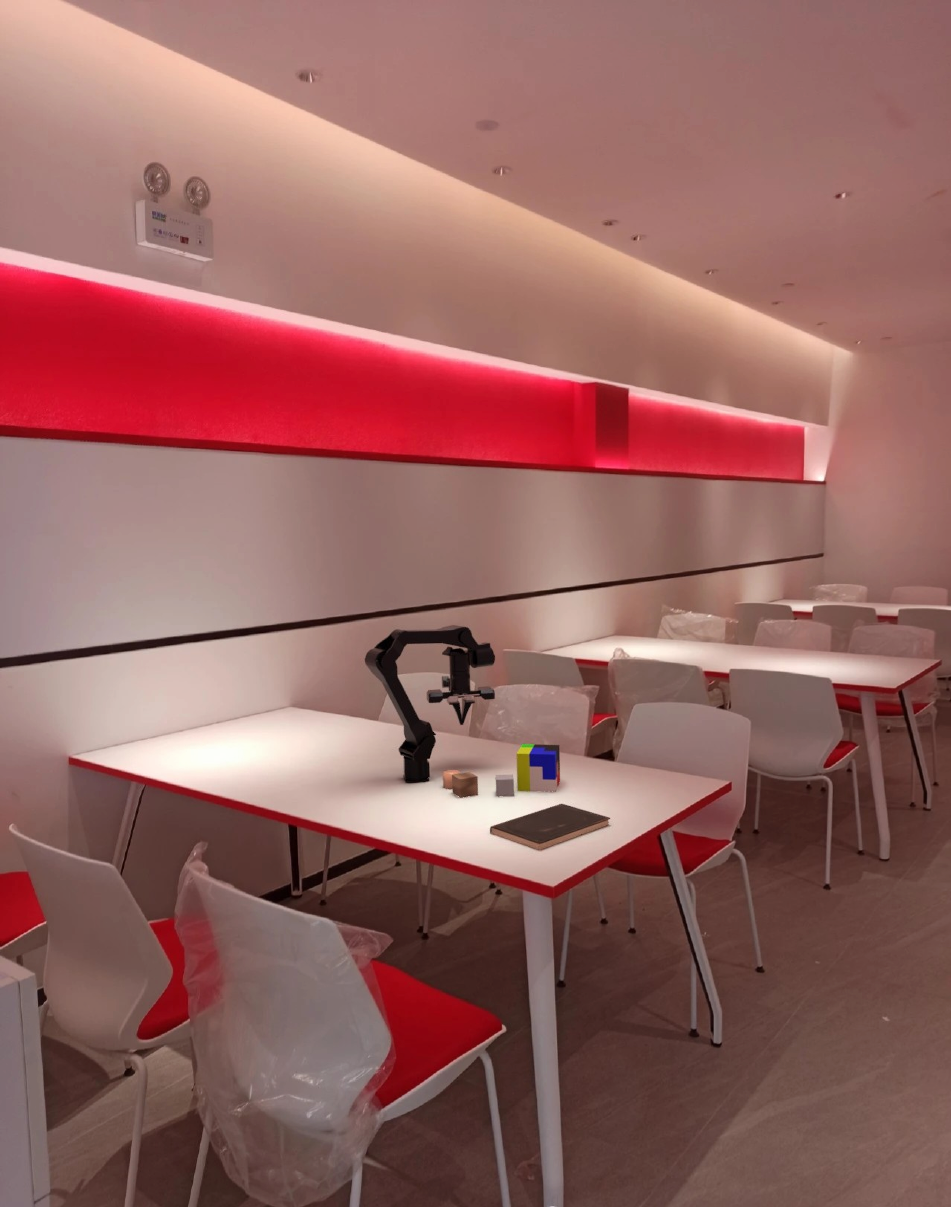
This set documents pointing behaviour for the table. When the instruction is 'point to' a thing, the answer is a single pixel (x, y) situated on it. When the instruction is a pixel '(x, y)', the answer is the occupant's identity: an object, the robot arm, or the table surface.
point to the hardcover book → (550, 826)
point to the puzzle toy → (538, 768)
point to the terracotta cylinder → (448, 778)
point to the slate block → (504, 785)
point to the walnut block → (465, 784)
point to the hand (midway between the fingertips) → (461, 724)
